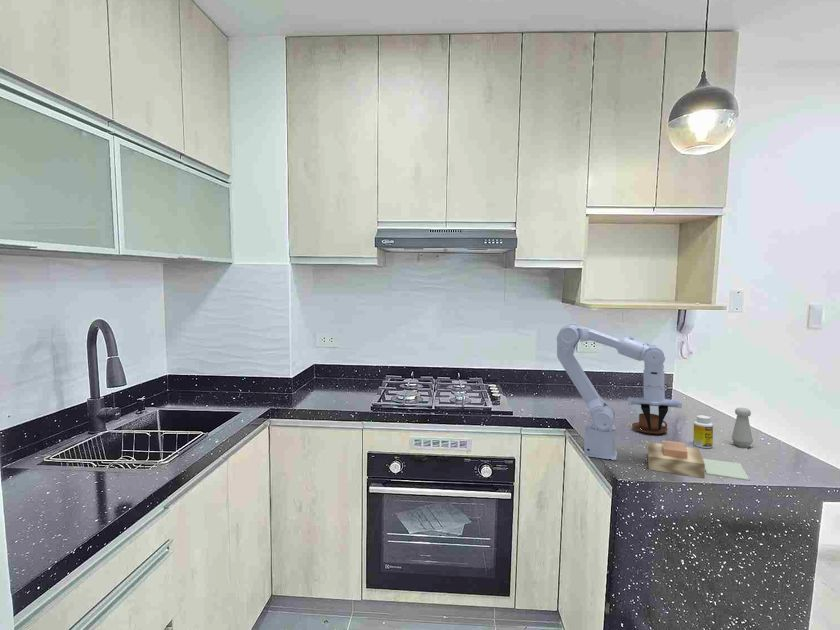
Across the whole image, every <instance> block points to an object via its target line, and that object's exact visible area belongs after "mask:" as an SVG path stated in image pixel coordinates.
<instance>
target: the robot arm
mask: <svg viewBox="0 0 840 630" xmlns="http://www.w3.org/2000/svg"><path fill="white" fill-rule="evenodd" d="M588 341H589V342H590V341H591V342H594V343H598V344H601V345H605V346H608V347H610V348H614V349H615V350H616V352H617V353H618V354H619V355H622V356H625V357H627V358H629V359H633V360H635V361H638V362H641V361H643V363H644V365H643V367H644V369H643V373H642V374H643V375H642V376H643V397H629V396H628V397H627V399H628V400H627V405H629V406H632V405H634V406H636V405H637V406H640V409H641V412H642V413H644V415H645V418H646V420H647V424H648V429H649V430H651V422H650V414H651V407H658V415H659V420H658V430H659V431H661V426H663V424H664V423H663V421H665V418H666V415H667V413H668V412H669V408H677V409H682V407H683V405H682V403H683V402H682V400H677V399H668V398H665V397H666V395H665V394H666V393H665V388H666V387H665V385H666V384H665V381H666V380H665V371H664V369H665V365H664V363H665V360H666V357H665V354H664V352H663V350H662V349H661V347H658V346H656V345H655V344H654V345H652V344H651V343H649V342H646V343H645V342H641V341H639V340H635V337H634V336H633V337H632V336H629V337H627V336H624V337H622V338H617V337H614V336H613V335H609V334H606V333H603V332H601V331H599V330H596V329H593V328H590V327H586V326H583V325H577V324H573V323H570V324H567V325H565V326H563V327H561V328H560V330H559V332H558V334H557V336H556V357H557V359H558V361H559V362H560V364H561V365H562V367H563V368H564V371H565V372H566V374H567V375H568V376H569V379H570V380H571V382H572V383H573V385H574V386H575V388H576V390H577V391H578V393H579V394H580V397H582V400H583V401H584V402H585V405H586V406H587V409H588V412H589V414H590V416H591V421H592V423H591V425H585V426H584V435H583V436H584V437H583V438H584V439H583V440H584V443H583V448H584V449H583V456H584V457H591V458H597V459H604V460H609V459H611V460H610V461H616V460H617V456H618V451H617V450H616V437H617V436H616V434H617V432H616V430H617V429H616V428H617V427H616V425H614V420H615V417H616V413H615V410H614V408H613V407H611V406H610V405H608V403H606V401H605V400H604V399H603V397H601V396H600V394H599V393H598V390H596V388H595V386H594V385H593V382H591V380H590V379H589V377H588V375H587V374H586V373H585V371H584V369H583V368H582V366H581V364H580V363H579V362H578V359H576V357H575V354H574V353H575V351H576V348H577V345H578V344H579V342H580V343H583V342H588Z"/></svg>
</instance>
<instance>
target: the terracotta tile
mask: <svg viewBox="0 0 840 630" xmlns="http://www.w3.org/2000/svg"><path fill="white" fill-rule="evenodd" d="M661 444H662V447H663V453H664V456H670V457H677V458H685V459H687V449H686V447H687V446H686V443H685V442H680V441H672V440H665V439H663V440H662V443H661Z"/></svg>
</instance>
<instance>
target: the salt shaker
mask: <svg viewBox="0 0 840 630" xmlns="http://www.w3.org/2000/svg"><path fill="white" fill-rule="evenodd" d="M734 413H735V415H736V419H735V423H734V426H733V430H732V435H731V441H732V442H733V444H734V446H735V447H737V448H743V449H749V448H750V446H751V445H752V444H753V441H754V440H753V439H754V438H753V435H752V430H751V425H750V419H749V417H751V415H752V411H751V410H750V409H749V408H746V407H737V408H735V409H734Z"/></svg>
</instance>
